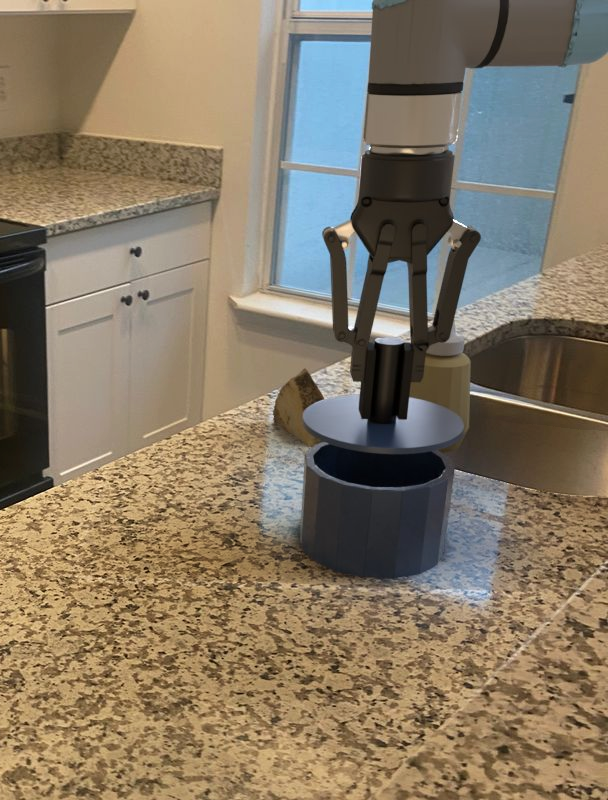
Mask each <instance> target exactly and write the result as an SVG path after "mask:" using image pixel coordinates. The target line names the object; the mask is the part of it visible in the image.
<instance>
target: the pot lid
mask: <svg viewBox="0 0 608 800" xmlns="http://www.w3.org/2000/svg"><path fill="white" fill-rule="evenodd" d="M404 342H405V340H404V339H402V338H399V337H393V336H383V337H382V336H381V337H376V338H375V339H374V342H373V344H374V347H375V349H376V359H375V369H374V380H373V391H372V401H371V412H370V419H361V415H360V412H359V398H360V393H358V394H357V393H355V394H353V393H352V394H345V395H344V394H343V395H338V396H333V397H328V398H324V400H321V401H318V402H316V403H314V404H312V405H310V406H309V407H308V408H306V410H305V411H304V413H303V415H302V424H303V427H304V428H305V430H306V431H307V432H308V433H309V434H310V435H312V436H314V437H315V438H317V439H319V440H321V441H323V442H326V443H328V444H331V445H334V446H337V447H341V448H345V449H350V450H355V451H360V452H368V453H377V454H415V453H424V452H430V451H435V450H439V449H442V448H445V447H448V446H450V445H452V444H454V443H456V442H457V441H458V440H459V439H460V438H461V437H462V435H463V432H464V423H463V421H462V419H461V418H460V417H459V416H458V415H457V414H456V413H454V412H453V411H451V410H449V409H447V408H445V407H443V406H440V405H438V404H435V403H432V402H428V401H424V400H420V399H416V398H411V397H409V404H408V413H407V420H398V417H397V408H398V398H399V389H400V379H401V370H402V360H403V350H404Z"/></svg>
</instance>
